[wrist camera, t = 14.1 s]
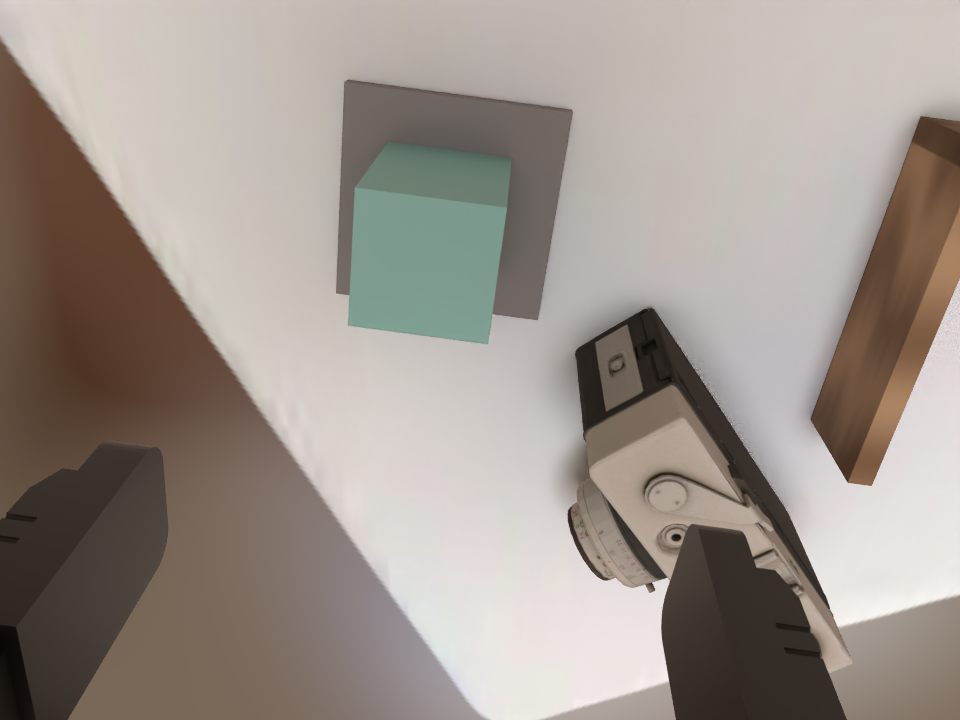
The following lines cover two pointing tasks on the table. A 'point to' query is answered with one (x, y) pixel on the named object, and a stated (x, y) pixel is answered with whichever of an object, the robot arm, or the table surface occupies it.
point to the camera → (674, 473)
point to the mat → (471, 128)
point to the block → (428, 242)
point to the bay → (895, 306)
